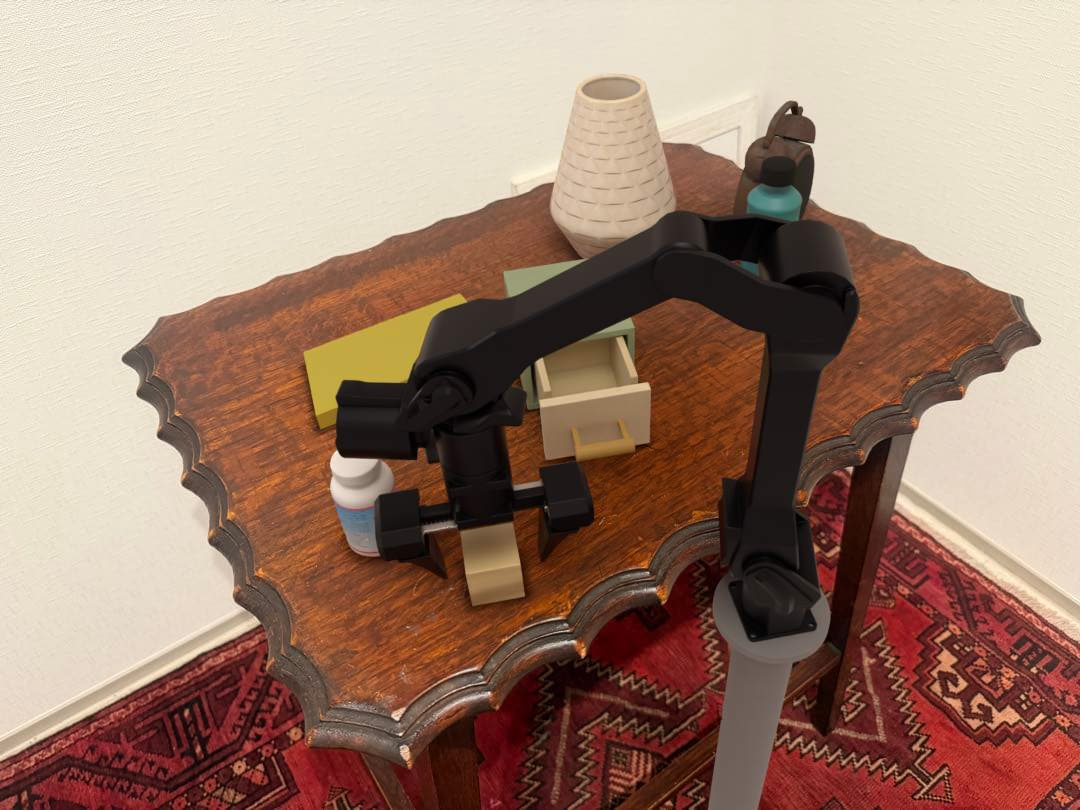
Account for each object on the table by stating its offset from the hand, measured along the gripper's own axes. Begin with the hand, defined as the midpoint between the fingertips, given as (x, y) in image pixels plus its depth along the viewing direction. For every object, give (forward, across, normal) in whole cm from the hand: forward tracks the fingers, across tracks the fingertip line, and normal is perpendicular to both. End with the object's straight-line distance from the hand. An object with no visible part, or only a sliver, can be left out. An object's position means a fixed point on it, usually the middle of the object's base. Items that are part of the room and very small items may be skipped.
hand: (493, 566), depth 82 cm
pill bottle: (+2, +11, -8) cm, 14 cm away
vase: (+2, -24, -54) cm, 59 cm away
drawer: (+1, -13, -18) cm, 22 cm away
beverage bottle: (+2, -39, -35) cm, 52 cm away
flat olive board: (+2, +8, -35) cm, 36 cm away
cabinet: (+2, -13, -30) cm, 33 cm away
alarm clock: (+2, -45, -48) cm, 66 cm away
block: (+2, 0, 0) cm, 2 cm away
